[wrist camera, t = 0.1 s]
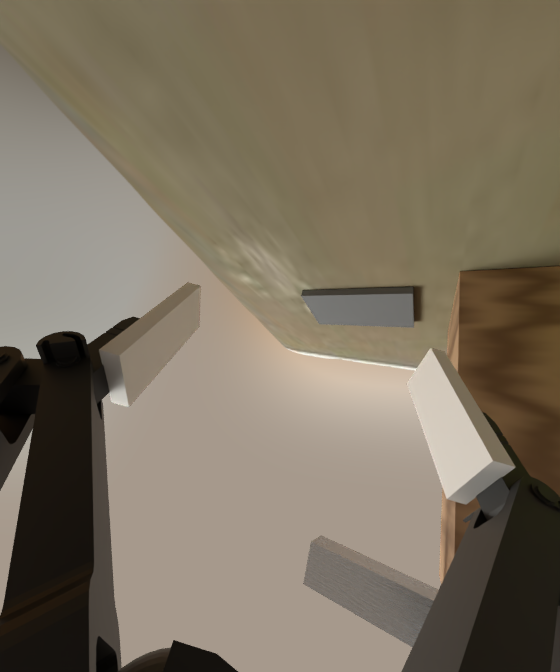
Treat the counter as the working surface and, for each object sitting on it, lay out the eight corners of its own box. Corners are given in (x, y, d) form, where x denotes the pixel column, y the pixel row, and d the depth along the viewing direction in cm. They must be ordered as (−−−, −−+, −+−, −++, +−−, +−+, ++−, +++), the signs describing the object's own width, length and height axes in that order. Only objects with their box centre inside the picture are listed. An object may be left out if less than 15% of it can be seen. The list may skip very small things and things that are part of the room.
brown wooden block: (448, 330, 39) (439, 575, 28) (459, 271, 28) (452, 638, 17) (538, 334, 34) (569, 631, 23) (597, 264, 23) (705, 771, 12)
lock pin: (322, 534, 31) (314, 585, 29) (309, 542, 27) (298, 601, 25) (733, 722, 17) (762, 840, 15) (825, 794, 13) (878, 962, 11)
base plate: (320, 319, 47) (319, 324, 46) (302, 290, 39) (301, 295, 39) (414, 321, 39) (413, 327, 39) (413, 286, 32) (412, 293, 32)
